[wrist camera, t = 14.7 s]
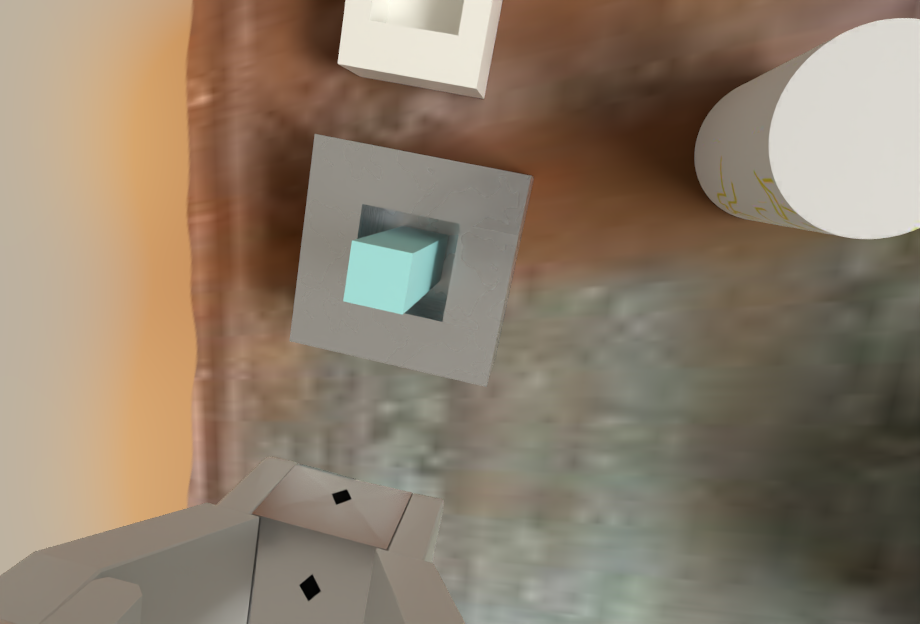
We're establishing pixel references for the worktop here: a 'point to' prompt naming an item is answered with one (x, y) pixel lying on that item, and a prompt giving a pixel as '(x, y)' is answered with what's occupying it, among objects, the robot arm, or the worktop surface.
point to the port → (423, 207)
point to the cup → (824, 138)
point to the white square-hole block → (421, 42)
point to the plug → (394, 268)
